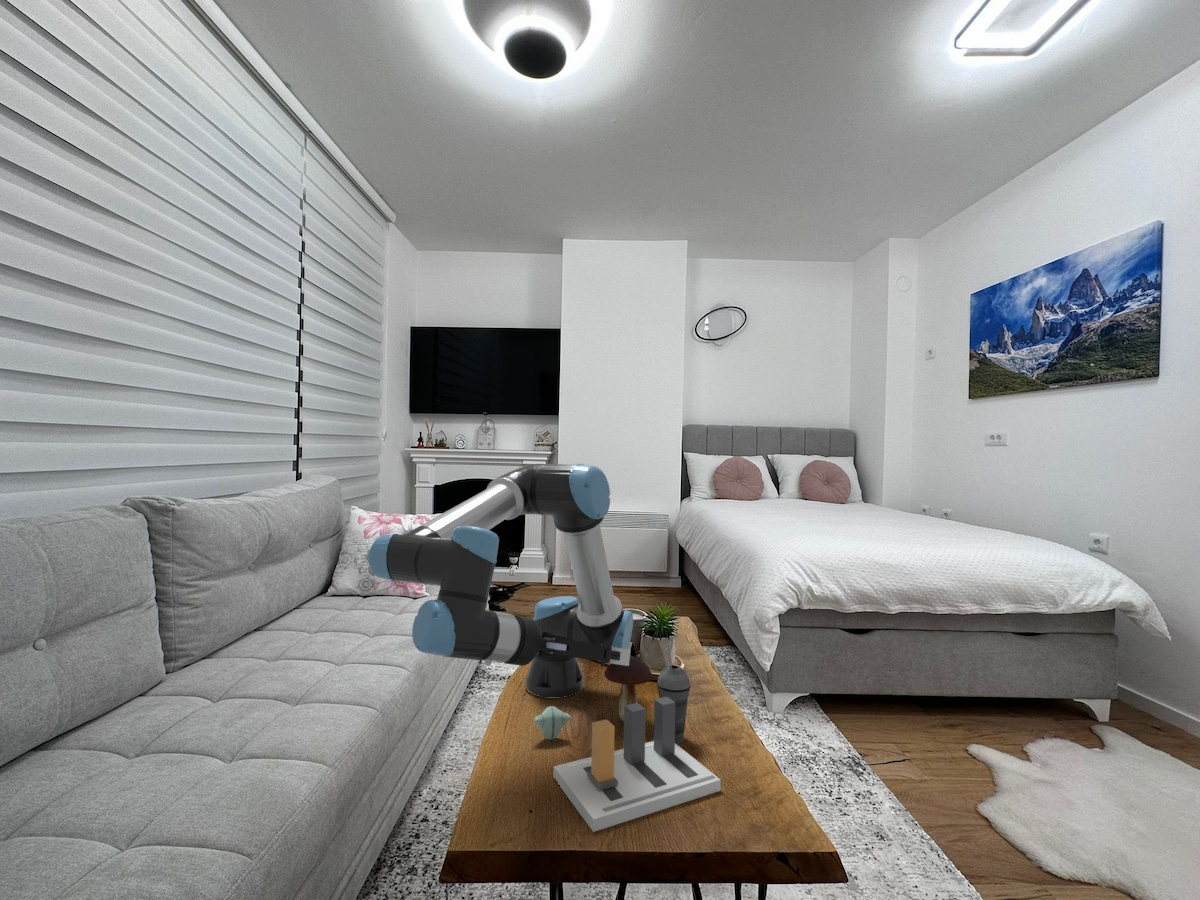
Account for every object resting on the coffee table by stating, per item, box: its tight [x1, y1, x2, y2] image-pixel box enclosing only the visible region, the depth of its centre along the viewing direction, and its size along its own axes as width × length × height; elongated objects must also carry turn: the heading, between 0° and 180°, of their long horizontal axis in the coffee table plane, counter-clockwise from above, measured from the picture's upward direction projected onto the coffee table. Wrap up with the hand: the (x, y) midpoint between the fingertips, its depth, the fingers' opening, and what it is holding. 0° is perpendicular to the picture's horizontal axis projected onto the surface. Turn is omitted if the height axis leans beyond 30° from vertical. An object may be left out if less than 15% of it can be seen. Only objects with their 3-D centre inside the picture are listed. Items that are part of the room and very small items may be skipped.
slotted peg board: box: [552, 697, 722, 833], centre depth 101 cm, size 17×26×12 cm, turn 117°
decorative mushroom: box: [604, 655, 653, 722], centre depth 126 cm, size 11×11×15 cm
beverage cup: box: [656, 644, 691, 745], centre depth 118 cm, size 7×7×20 cm
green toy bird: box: [534, 705, 572, 740], centre depth 117 cm, size 8×4×7 cm, turn 106°
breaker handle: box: [587, 719, 618, 790], centre depth 98 cm, size 5×4×10 cm
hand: (602, 653), depth 101 cm, fingers open, 13 cm apart
